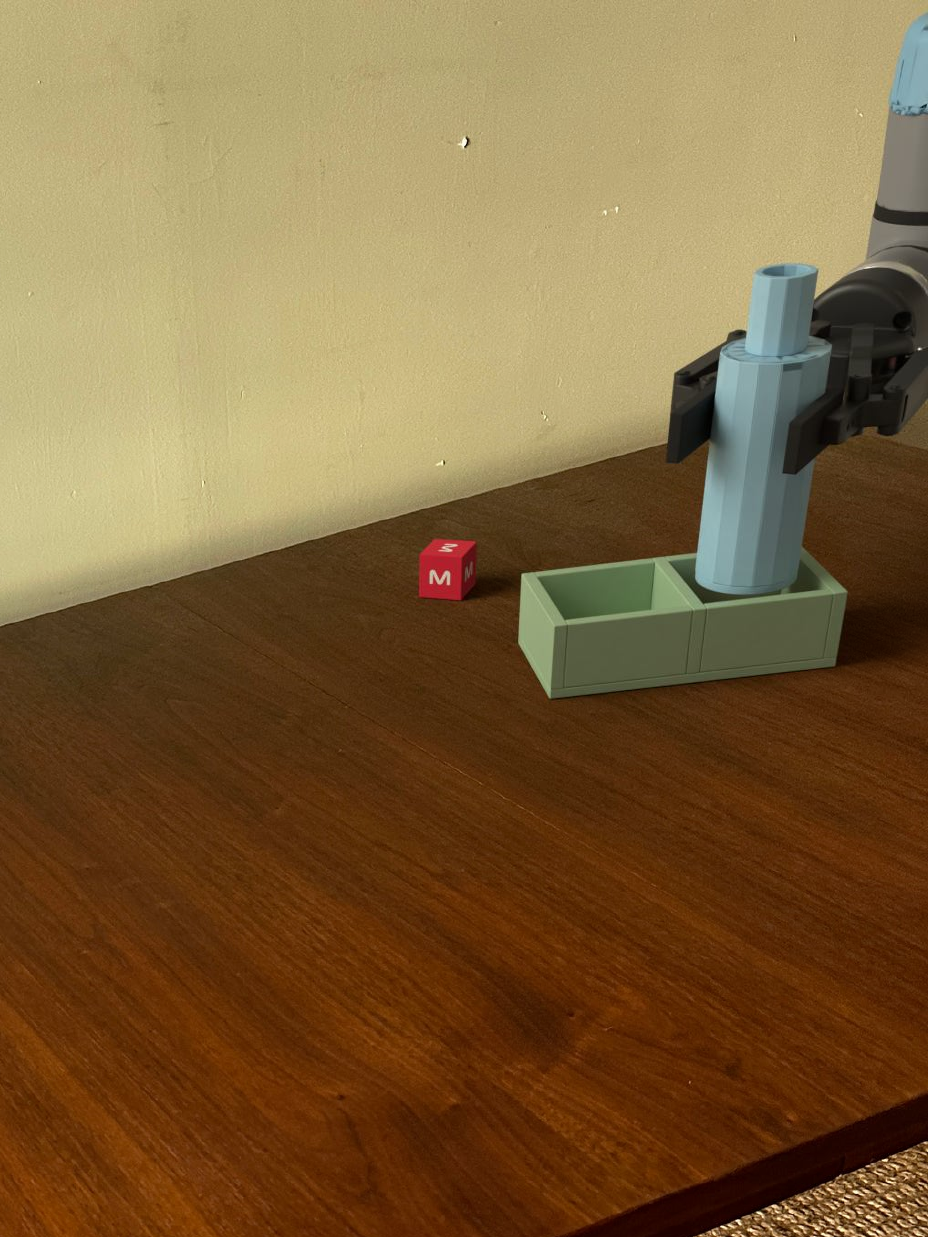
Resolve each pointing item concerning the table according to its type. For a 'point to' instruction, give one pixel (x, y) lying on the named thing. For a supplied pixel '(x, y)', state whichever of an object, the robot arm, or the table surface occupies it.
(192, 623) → the table surface
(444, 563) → the red letter cube
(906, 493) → the table surface
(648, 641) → the holder
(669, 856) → the table surface
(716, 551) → the bottle
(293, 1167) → the table surface
